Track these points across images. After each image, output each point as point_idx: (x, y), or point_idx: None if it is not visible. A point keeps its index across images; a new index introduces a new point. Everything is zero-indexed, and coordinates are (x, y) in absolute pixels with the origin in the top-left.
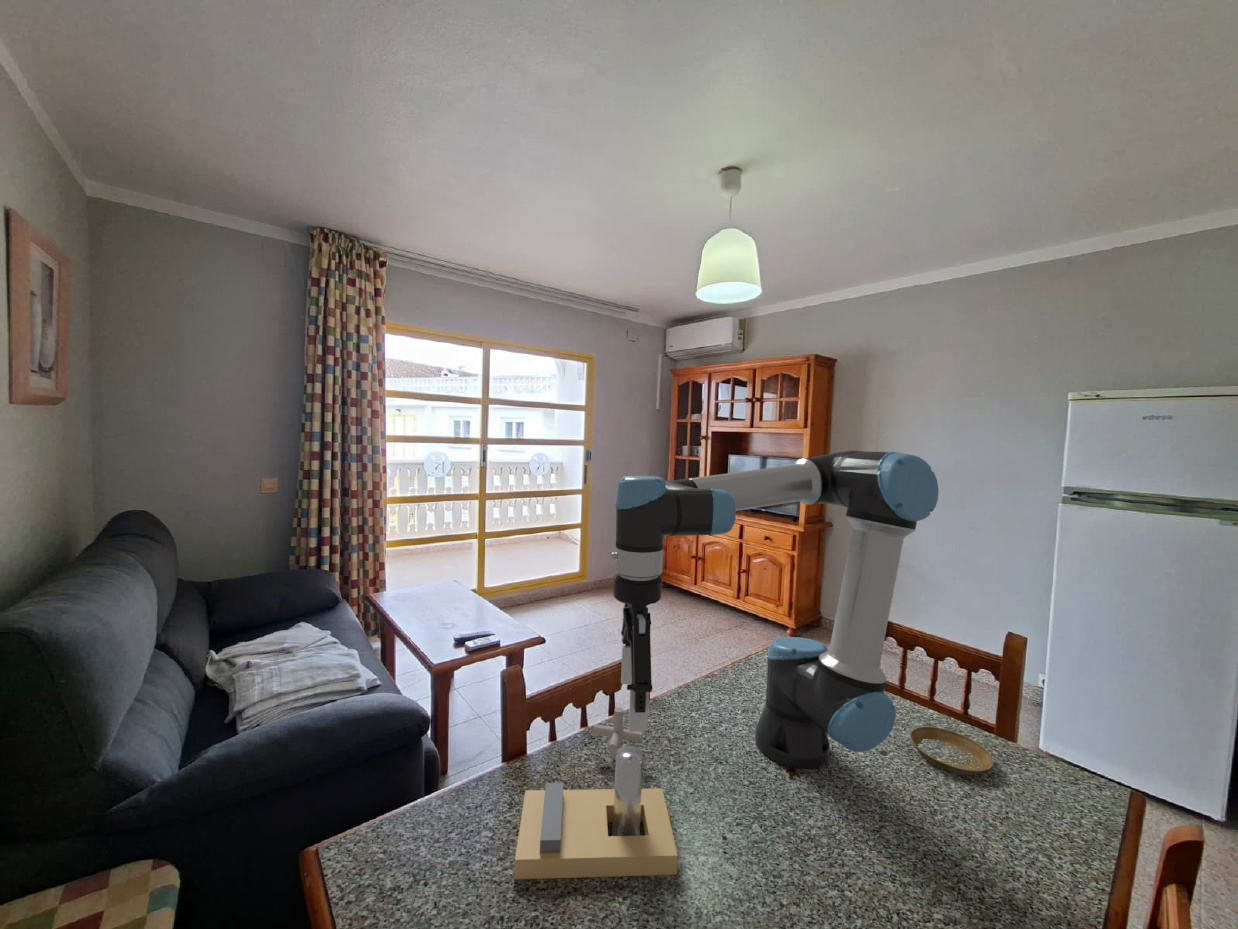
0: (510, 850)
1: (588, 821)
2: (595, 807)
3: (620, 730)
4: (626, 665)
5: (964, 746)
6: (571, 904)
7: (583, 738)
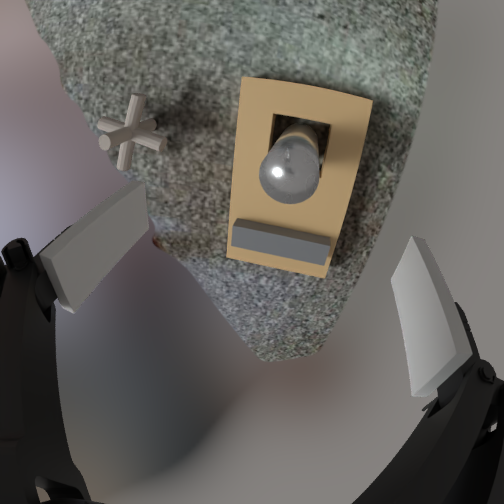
0: None
1: None
2: None
3: (129, 130)
4: (110, 251)
5: None
6: (368, 222)
7: None
